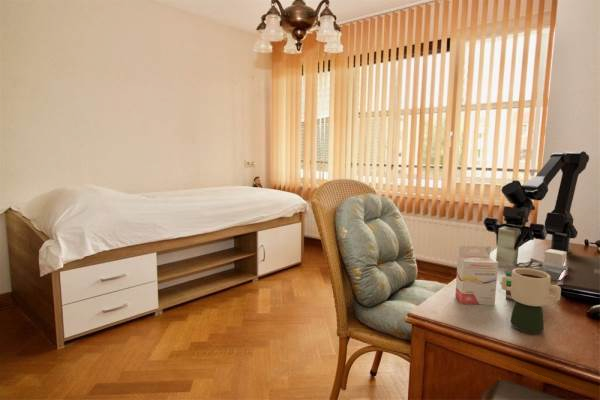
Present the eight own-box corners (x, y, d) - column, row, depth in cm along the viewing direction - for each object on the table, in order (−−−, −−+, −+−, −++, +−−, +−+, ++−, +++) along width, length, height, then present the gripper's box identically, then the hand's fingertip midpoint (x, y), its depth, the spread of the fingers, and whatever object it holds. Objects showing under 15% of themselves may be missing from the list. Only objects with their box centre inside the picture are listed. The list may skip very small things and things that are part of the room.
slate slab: (535, 268, 117) (536, 260, 116) (567, 275, 110) (568, 266, 109) (525, 274, 111) (526, 266, 111) (559, 282, 104) (560, 273, 104)
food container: (526, 310, 86) (529, 271, 84) (502, 300, 91) (505, 264, 90) (553, 299, 91) (556, 263, 90) (529, 291, 97) (531, 257, 95)
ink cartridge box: (461, 304, 89) (464, 250, 87) (454, 296, 94) (457, 244, 92) (495, 305, 88) (499, 250, 86) (487, 297, 93) (490, 245, 91)
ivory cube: (548, 262, 122) (549, 248, 121) (565, 265, 118) (566, 251, 118) (543, 265, 119) (544, 251, 118) (561, 268, 115) (562, 254, 114)
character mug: (557, 329, 76) (562, 273, 74) (556, 343, 71) (561, 283, 69) (501, 315, 83) (504, 264, 81) (496, 327, 77) (500, 272, 76)
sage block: (501, 261, 123) (504, 226, 121) (516, 265, 119) (520, 229, 117) (495, 264, 120) (498, 228, 118) (511, 268, 116) (514, 231, 114)
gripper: (487, 195, 126) (471, 229, 121) (547, 200, 112) (532, 239, 106) (494, 214, 132) (480, 246, 127) (552, 221, 118) (539, 258, 112)
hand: (505, 247), depth 118 cm, fingers closed on sage block, 5 cm apart
